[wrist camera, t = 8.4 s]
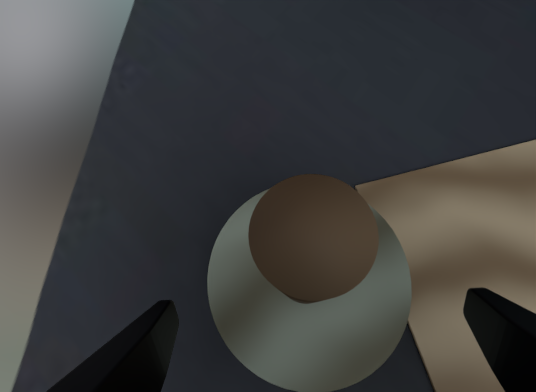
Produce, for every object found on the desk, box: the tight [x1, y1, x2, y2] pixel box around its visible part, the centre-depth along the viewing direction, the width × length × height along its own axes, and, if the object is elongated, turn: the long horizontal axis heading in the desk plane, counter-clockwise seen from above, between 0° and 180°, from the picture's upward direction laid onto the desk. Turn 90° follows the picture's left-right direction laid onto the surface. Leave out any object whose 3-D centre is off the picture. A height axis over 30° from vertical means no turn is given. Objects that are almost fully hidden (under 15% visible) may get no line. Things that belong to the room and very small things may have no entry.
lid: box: [207, 174, 412, 392], centre depth 12 cm, size 12×12×11 cm
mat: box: [355, 140, 536, 392], centre depth 19 cm, size 18×16×1 cm
